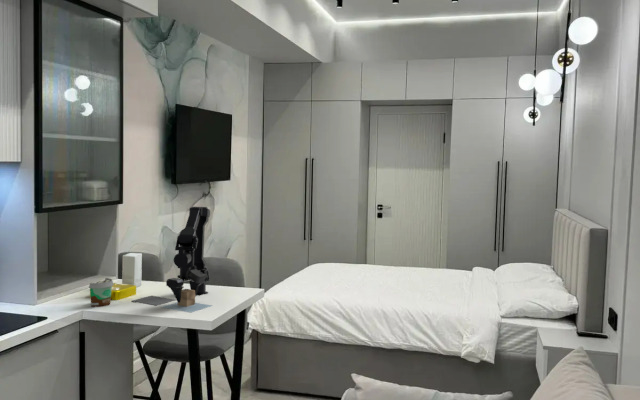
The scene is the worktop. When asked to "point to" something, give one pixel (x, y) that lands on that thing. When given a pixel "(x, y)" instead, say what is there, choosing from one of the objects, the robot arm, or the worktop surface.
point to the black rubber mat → (153, 300)
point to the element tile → (122, 291)
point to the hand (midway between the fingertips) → (186, 300)
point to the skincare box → (132, 269)
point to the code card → (187, 309)
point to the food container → (101, 293)
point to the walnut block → (187, 297)
